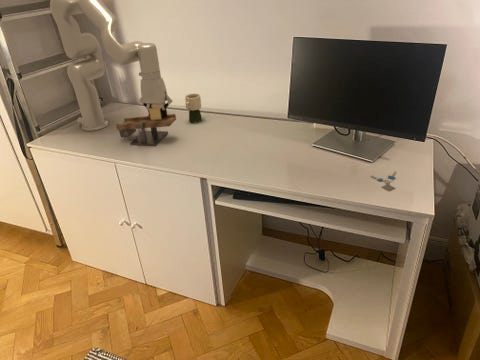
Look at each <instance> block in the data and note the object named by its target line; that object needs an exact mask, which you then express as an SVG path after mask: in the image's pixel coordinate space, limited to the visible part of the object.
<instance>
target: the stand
mask: <svg viewBox="0 0 480 360" xmlns="http://www.w3.org/2000/svg"><path fill="white" fill-rule="evenodd" d="M148 116H149V114H148ZM137 125H138V133H139V134H138V135H137V136H136V137H135V138H134V139H133V140H132V141H131V142H130V143H129V145H130V146H139V147H157V146H158V145H159V144H160V142H161V143H162V141H163V140H164V139H165V137H167V135H169V131H167V130H166V131H164V130H163V131H162V130H158V127H153V128H150V130H146V128H145V127H144V123H138V124H137Z"/></svg>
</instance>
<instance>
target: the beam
mask: <svg viewBox="0 0 480 360" xmlns="http://www.w3.org/2000/svg"><path fill="white" fill-rule="evenodd" d="M123 120H124V121H123V122H122V123H117V124H115V127H116V130H117V131H118V132H119V135H120V139H123V138H125V139H126V138H130V137H132V136H133V134H135V133H136V132H137V129H138V125H137V124H138V123H144V127H145V129H151V128H153V127H157V128H163V127H165V128H167V127H170V126H171V125H172V124H173V123H174V122H175V121H177V116H176V113H173V114H168V113H167V117H166V119H165V120H164V121H151V119H150V116H144V115H143V116H132V117H125V118H124V119H123Z"/></svg>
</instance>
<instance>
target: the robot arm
mask: <svg viewBox="0 0 480 360" xmlns="http://www.w3.org/2000/svg"><path fill="white" fill-rule="evenodd" d="M114 6H115V3H114V0H50V2H49V9H50V11H51V15H52V17H53V19H54V21H55V24H56V25H57V29H58V31H59V33H58V34H59V36H60V39H61V43H62V46H63V50H64V52H65V55H66V56H67V57H68V58H69V59H74V60H75V59H79V58H80V60H76V61H73V62H71V63H70V64H69V65H68V66H67V68H66V73H67V76H68V78H69V80H70V82H71V85H72V86H73V89H74V93H75V96H76V100H77V103H78V106H79V107H78V108H79V111H80V114H81V117H78V118H77V123H79V124H82V125H81V129H82V130H83V131H85V132H92V131H98V130H99V131H100V130H102V129H104V128H107V127H108V125H109V121H108V120H106V119H105V118H104V113H103V111H102V106H101V102H100V98H99V95H98V92H97V91H98V90H97V89H96V87H95V86H94V85H93V84H92V82H91V81H93V80H96V79H99V78H101V77H102V76H104V74H105V73H106V71H105V69H106V67H105V63H104V57H103V55H102V54H103V53H102V50H101V47H100V43H99V40H97V39H98V38H97V37H96V36H95V35H94V34H92V33H90V32H83V33H82V32H81V29H80V25H79V23H78V22H77V21H76V18H74V17H73V16H74V15H82V14H84V15H85V16H86V17H87V18H88V20H89V21H91V23H93V25H94V26H95V27H96V28H97V29H98V31H100V36H101V37H100V38H101V42H102V45H103V48H104V50H105V51H106V52H107V53H108V55H109V56H110V57H111V58H112V59H113V60H114V61H115V62H116V63H117V64H119V65H122V66H126V65H130V64H133V63H136V62H138V63H139V67H140V72H138V76H139V77H141V79H140V96H141V97H140V98H139V100H138V101H139V103H140V104H142V105H143V106H144V108H146V110H147V112H148V115H149V116H150V113H149V108H150V107H152V104H160V105H161V108H162V110H161V113H162V118H163V119H165V118H166V117H167V115H168V111H167V108H168V107H169V106H170V105H171V104H172V103H173V99H171V98H170V96H169V95H168V91H167V88H166V84H165V81H164V78H163V77H162V75H161V68H160V62H159V61H160V60H159V56H158V49H157V45H156V44H155V43H153V42H142V41H138V40H137V41H136V40H135V41H132V42H131V41H130V42H127V43H122V44H120V42H118V41H117V39H116V38H115V37H114V36H113V33H114V31H115V30H116V29H117V27H118V25H119V21H118V18H117V16H116V15H114V13H113V12H112V11H113V9H114V8H115V7H114ZM84 57H86V58H84ZM81 58H84V59H81ZM150 119H151V118H150Z"/></svg>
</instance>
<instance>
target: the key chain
mask: <svg viewBox="0 0 480 360" xmlns="http://www.w3.org/2000/svg"><path fill="white" fill-rule="evenodd" d="M396 173H397V171H394V172H393V173H392V174H391V175H387V176H388V177H387V179H384V178H383V177H380V178H379V177H378V176H374V175H372V174H371V175H370V177H371V178H373V179H376V180H377V181H378V182H383V184H384V185H383V186H381V187H380V188H382V189H383V190H385V191H386V192H392V191H394V190H396V187H394V186H392V185H391V182H392V181H394V180H396V177H395V175H396ZM389 179H390V180H389Z"/></svg>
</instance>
